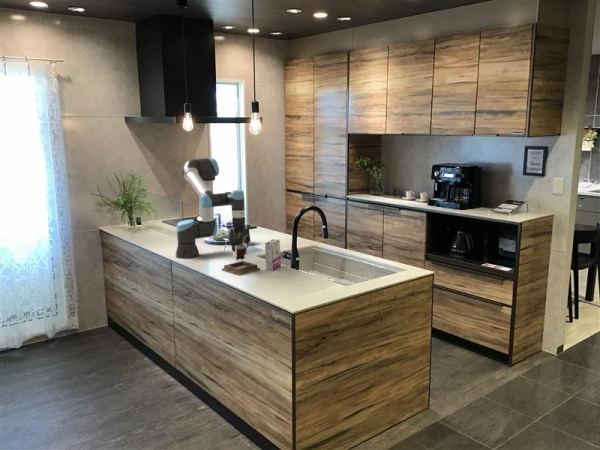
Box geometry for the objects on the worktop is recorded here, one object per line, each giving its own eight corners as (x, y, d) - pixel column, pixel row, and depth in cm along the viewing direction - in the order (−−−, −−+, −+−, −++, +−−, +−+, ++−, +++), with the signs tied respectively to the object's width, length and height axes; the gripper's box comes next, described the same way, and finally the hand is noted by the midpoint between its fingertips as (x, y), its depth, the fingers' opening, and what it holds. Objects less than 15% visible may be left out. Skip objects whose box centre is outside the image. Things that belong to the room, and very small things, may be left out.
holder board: (221, 270, 307) (221, 265, 306) (243, 264, 318) (243, 260, 317) (238, 275, 295) (238, 270, 295) (259, 269, 306) (259, 264, 306)
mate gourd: (231, 258, 305) (230, 234, 303) (242, 256, 311) (241, 231, 308) (239, 260, 300) (238, 235, 297) (250, 258, 306) (249, 233, 303)
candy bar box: (273, 265, 316) (272, 239, 313) (280, 265, 314) (280, 239, 311) (265, 270, 306) (264, 243, 302) (273, 270, 304) (272, 243, 301)
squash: (222, 238, 368) (235, 223, 364) (230, 235, 383) (242, 220, 379) (237, 252, 367) (250, 237, 363) (244, 248, 382) (256, 233, 377)
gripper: (228, 220, 291) (230, 259, 295) (255, 215, 305) (257, 253, 309) (220, 218, 296) (222, 257, 301) (247, 214, 310) (249, 251, 314)
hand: (240, 255), depth 305 cm, fingers closed on mate gourd, 7 cm apart
